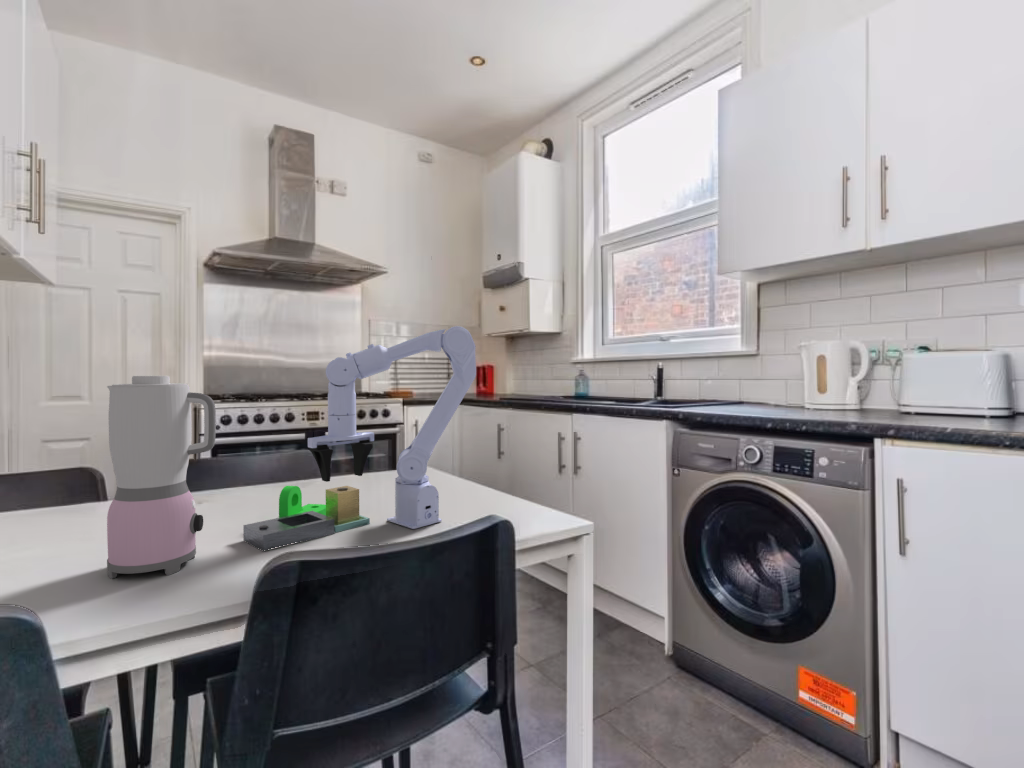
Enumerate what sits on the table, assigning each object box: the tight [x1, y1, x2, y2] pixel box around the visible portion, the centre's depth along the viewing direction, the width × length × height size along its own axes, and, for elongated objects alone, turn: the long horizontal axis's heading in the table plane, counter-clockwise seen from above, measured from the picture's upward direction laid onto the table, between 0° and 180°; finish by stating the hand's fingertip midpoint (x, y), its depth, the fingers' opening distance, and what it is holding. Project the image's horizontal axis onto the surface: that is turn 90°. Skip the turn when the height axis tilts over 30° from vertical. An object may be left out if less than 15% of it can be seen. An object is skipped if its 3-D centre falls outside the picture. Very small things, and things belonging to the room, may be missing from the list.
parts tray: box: [334, 514, 371, 533], centre depth 111 cm, size 8×8×1 cm
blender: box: [106, 375, 217, 579], centre depth 87 cm, size 16×12×32 cm
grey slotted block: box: [242, 511, 335, 552], centre depth 102 cm, size 9×14×3 cm, turn 138°
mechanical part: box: [278, 485, 326, 518], centre depth 114 cm, size 12×6×8 cm, turn 173°
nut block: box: [325, 485, 360, 526], centre depth 111 cm, size 5×5×7 cm
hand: (342, 478), depth 110 cm, fingers open, 7 cm apart
